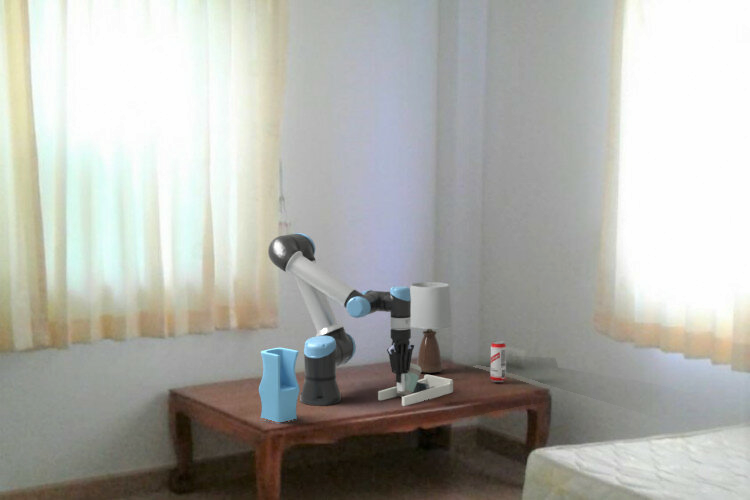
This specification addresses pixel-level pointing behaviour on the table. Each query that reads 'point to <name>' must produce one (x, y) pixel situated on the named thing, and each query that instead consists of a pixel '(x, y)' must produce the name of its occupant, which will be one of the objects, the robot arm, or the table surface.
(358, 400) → the table surface
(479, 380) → the table surface
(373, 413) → the table surface
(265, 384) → the vase
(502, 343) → the beer can
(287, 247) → the robot arm
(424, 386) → the block
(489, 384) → the table surface
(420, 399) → the lane
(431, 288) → the lamp
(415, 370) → the coffee cup
